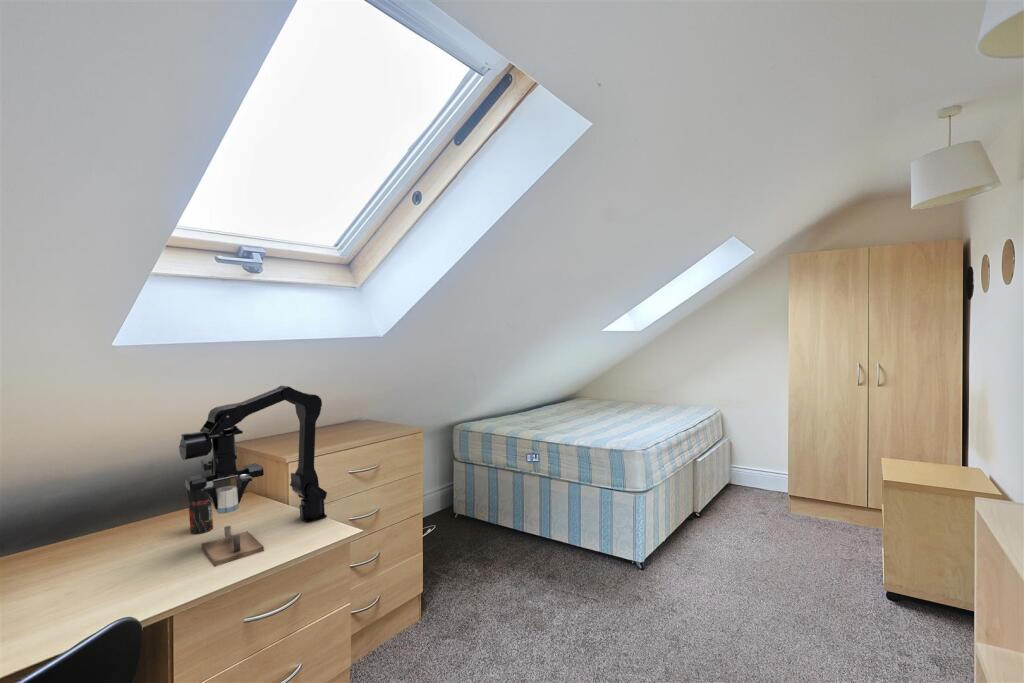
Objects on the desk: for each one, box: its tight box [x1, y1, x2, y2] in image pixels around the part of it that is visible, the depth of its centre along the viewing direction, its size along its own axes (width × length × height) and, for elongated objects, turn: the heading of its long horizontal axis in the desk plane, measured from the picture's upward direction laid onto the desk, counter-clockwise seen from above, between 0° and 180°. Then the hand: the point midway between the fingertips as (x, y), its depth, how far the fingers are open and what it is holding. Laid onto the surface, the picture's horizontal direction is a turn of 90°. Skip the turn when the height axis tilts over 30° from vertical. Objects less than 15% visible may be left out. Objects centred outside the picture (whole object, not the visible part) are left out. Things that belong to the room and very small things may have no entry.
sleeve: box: [215, 485, 239, 514], centre depth 147 cm, size 5×5×6 cm
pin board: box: [201, 525, 265, 567], centre depth 145 cm, size 12×15×5 cm
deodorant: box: [186, 488, 214, 535], centre depth 159 cm, size 6×6×15 cm
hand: (227, 506), depth 147 cm, fingers closed on sleeve, 5 cm apart
